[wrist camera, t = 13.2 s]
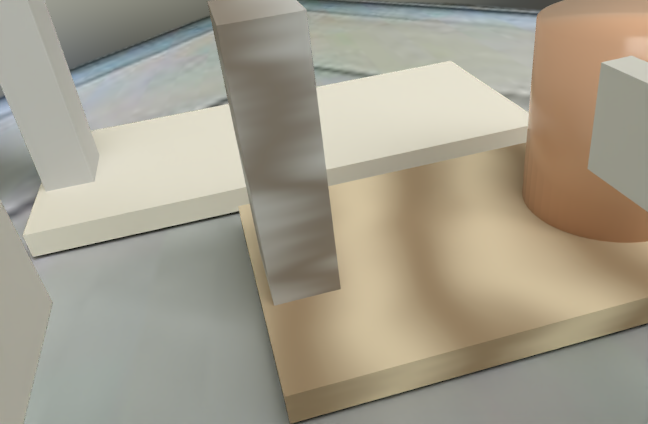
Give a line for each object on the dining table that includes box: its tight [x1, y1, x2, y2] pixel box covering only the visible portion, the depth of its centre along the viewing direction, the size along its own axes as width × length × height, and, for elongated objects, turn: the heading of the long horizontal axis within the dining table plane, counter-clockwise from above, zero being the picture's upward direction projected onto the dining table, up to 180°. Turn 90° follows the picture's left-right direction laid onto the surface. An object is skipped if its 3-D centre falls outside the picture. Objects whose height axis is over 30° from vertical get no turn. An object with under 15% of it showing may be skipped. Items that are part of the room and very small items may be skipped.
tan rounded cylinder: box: [522, 0, 648, 243], centre depth 27 cm, size 8×8×9 cm
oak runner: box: [208, 0, 648, 424], centre depth 26 cm, size 32×14×14 cm, turn 104°
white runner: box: [0, 0, 529, 257], centre depth 38 cm, size 32×14×14 cm, turn 104°
